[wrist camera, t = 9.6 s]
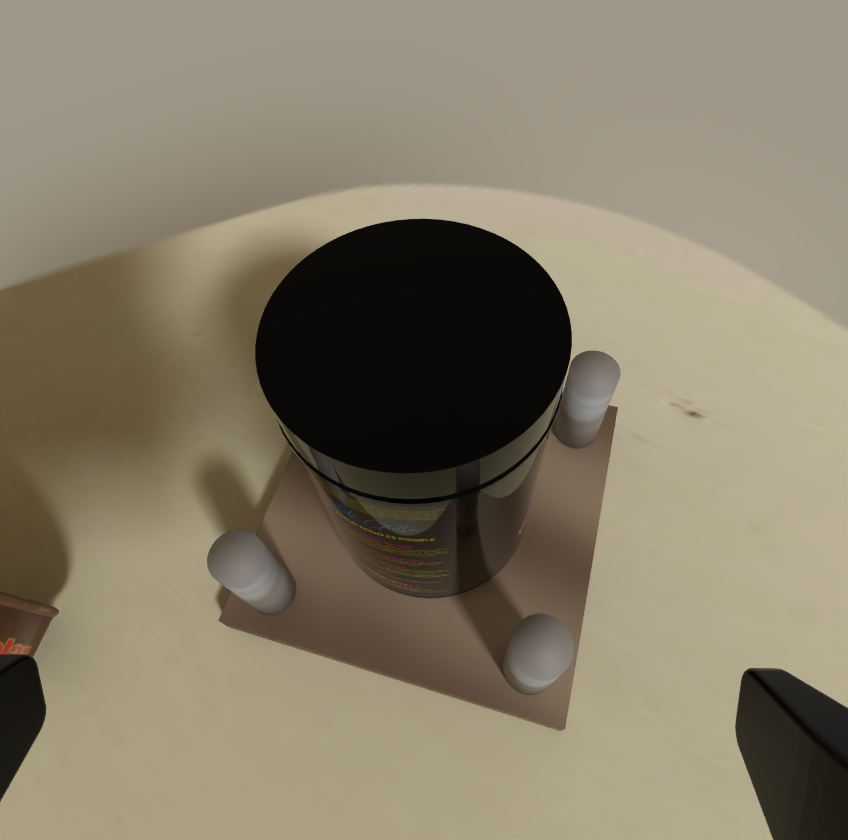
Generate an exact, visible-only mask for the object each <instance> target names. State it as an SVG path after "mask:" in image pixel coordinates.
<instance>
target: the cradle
mask: <svg viewBox="0 0 848 840" xmlns="http://www.w3.org/2000/svg"><path fill="white" fill-rule="evenodd" d="M619 378H620V368H619V365H618V364H617V362H616V361H615V360H614V359H613V358H612V357H611V356H609V355H608V354H606V353H603V352H600V351H586V352H582V353H580V354H578V355H577V356H576V357H575V358H574V359H573V360H572V362H571V365H570V368H569V372H568V376H567V380H566V383H565V387H564V391H563V395H562V397H561V401H560V405H559V409H558V412H557V416H556V418H555V421H554V423H553V426H552V428H551V430H550V432H549V436H548V440H547V444H546V448H545V451H544V455H543V459H542V463H541V467H540V471H539V474H538V478H537V482H536V486H535V490H534V494H533V498H532V501H531V505H530V509H529V513H528V517H527V521H526V525H525V528H524V532H523V535H522V538H521V541H520V543H519V545H518V547H517V549H516V551H515V553H514V554H513V556H512V557H511V559H510V560H509V561H508V563H507V564H506V565H505V566H504V567H503V568H502V569H501V570H500V571H499V572H498V573H497V574H496V575H495V576H494V577H492V578H491V579H490V580H488V581H487V582H485V583H484V584H482V585H480V586H479V587H477V588H475V589H473V590H470V591H468V592H465V593H462V594H459V595H455V596H451V597H445V598H433V599H427V598H416V597H411V596H406V595H403V594H399V593H396V592H394V591H392V590H389V589H387V588H385V587H383V586H382V585H380V584H378V583H377V582H375V581H374V580H373V579H371V578H370V577H369V576H368V575H366V574H365V573H364V572H363V571H362V570H361V569H360V568H359V566H358V565H357V564H356V563H355V562H354V560H353V559H352V557H351V556H350V554H349V552H348V551H347V549H346V547H345V545H344V543H343V541H342V539H341V537H340V535H339V534H338V532H337V530H336V528H335V526H334V524H333V522H332V520H331V518H330V516H329V514H328V513H327V511H326V509H325V507H324V505H323V503H322V501H321V499H320V497H319V495H318V493H317V491H316V490H315V488H314V486H313V484H312V482H311V480H310V478H309V476H308V474H307V472H306V470H305V468H304V467H303V465H302V463H301V461H300V459H299V458H298V456H297V455H296V454H295V452H294V451H293V452H292V455H291V457H290V459H289V461H288V464H287V466H286V468H285V471H284V473H283V475H282V477H281V480H280V482H279V484H278V486H277V489H276V491H275V493H274V496H273V498H272V500H271V502H270V505H269V507H268V509H267V511H266V514H265V516H264V518H263V521H262V523H261V525H260V527H259V530H258V532H257V534H256V535H255V534H254V533H252V532H250V531H248V530H243V529H236V530H232V531H229V532H227V533H225V534H223V535H222V536H220V537H219V538H218V539H217V540H216V541H215V542H214V543H213V545H212V547H211V548H210V551H209V554H208V559H207V564H208V569H209V572H210V574H211V575H212V576H213V577H214V578H215V579H216V580H217V581H218V582H220V583H221V584H222V585H224V586H225V587H226V588H228V589H229V590H230V591H231V593H230V595H229V598H228V600H227V602H226V605H225V607H224V609H223V611H222V614H221V616H220V618H219V620H218V621H220V622H221V623H223V624H225V625H226V626H228V627H231V628H234V629H237V630H241V631H244V632H247V633H250V634H253V635H257V636H260V637H263V638H266V639H269V640H272V641H276V642H279V643H282V644H285V645H288V646H292V647H295V648H298V649H301V650H304V651H308V652H311V653H314V654H317V655H320V656H323V657H327V658H330V659H333V660H336V661H339V662H343V663H346V664H349V665H352V666H355V667H358V668H362V669H365V670H368V671H371V672H374V673H378V674H381V675H384V676H387V677H390V678H394V679H397V680H400V681H403V682H406V683H409V684H413V685H416V686H419V687H422V688H425V689H429V690H432V691H435V692H438V693H441V694H444V695H448V696H451V697H454V698H457V699H460V700H464V701H467V702H470V703H473V704H476V705H480V706H483V707H486V708H489V709H492V710H495V711H499V712H502V713H505V714H508V715H511V716H515V717H518V718H521V719H524V720H527V721H530V722H534V723H537V724H540V725H543V726H546V727H550V728H553V729H556V730H559V731H561V730H564V729H565V725H566V719H567V713H568V707H569V701H570V695H571V689H572V683H573V677H574V671H575V664H576V658H577V652H578V646H579V640H580V634H581V628H582V622H583V616H584V610H585V603H586V597H587V591H588V585H589V579H590V573H591V567H592V561H593V555H594V549H595V543H596V536H597V530H598V524H599V518H600V512H601V506H602V500H603V494H604V488H605V482H606V475H607V469H608V463H609V457H610V451H611V445H612V439H613V433H614V427H615V421H616V414H617V408H618V407H614V406H609V403H610V401H611V398H612V396H613V393H614V391H615V388H616V386H617V383H618V381H619Z"/></svg>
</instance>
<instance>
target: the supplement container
mask: <svg viewBox="0 0 848 840" xmlns="http://www.w3.org/2000/svg"><path fill="white" fill-rule="evenodd" d="M571 347H572V332H571V325H570V319H569V315H568V311H567V307H566V305H565V302H564V300H563V297H562V295H561V293H560V291H559V290H558V288H557V286H556V284H555V283H554V281H553V280H552V279H551V277H550V276H549V274H548V273H547V272H546V271H545V270H544V269H543V267H542V266H541V265H540V264H539V263H538V262H537V261H536V260H535V259H533V258H532V257H531V256H530V255H529V254H528V253H526V252H525V251H524V250H522V249H521V248H519V247H518V246H516V245H515V244H513V243H511V242H510V241H508V240H506V239H504V238H502V237H500V236H498V235H496V234H494V233H492V232H489V231H486V230H484V229H481V228H478V227H475V226H471V225H468V224H463V223H458V222H453V221H446V220H436V219H407V220H396V221H390V222H384V223H379V224H375V225H371V226H367V227H364V228H361V229H358V230H355V231H352V232H350V233H347V234H345V235H342V236H340V237H338V238H336V239H334V240H332V241H330V242H328V243H327V244H325V245H323V246H322V247H320V248H318V249H317V250H315V251H314V252H313V253H311V254H310V255H308V256H307V257H306V258H304V259H303V260H302V261H301V262H300V263H299V264H297V265H296V266H295V267H294V268H293V269H292V270H291V271H290V272H289V273H288V274H287V275H286V277H285V278H284V279H283V280H282V282H281V283H280V284H279V285H278V287H277V288H276V290H275V291H274V293H273V294H272V296H271V298H270V300H269V301H268V303H267V305H266V307H265V309H264V312H263V315H262V317H261V320H260V324H259V328H258V332H257V338H256V346H255V360H256V367H257V374H258V377H259V381H260V385H261V387H262V390H263V392H264V395H265V397H266V399H267V401H268V403H269V405H270V407H271V409H272V411H273V412H274V414H275V416H276V418H277V421H278V423H279V425H280V428H281V430H282V433H283V434H284V436H285V438H286V440H287V442H288V443H289V445H290V447H291V448H292V450H293V451H294V452H295V454H296V455H297V456H298V458H299V459H300V461H301V463H302V465H303V467H304V468H305V470H306V472H307V474H308V476H309V478H310V480H311V482H312V484H313V486H314V488H315V490H316V491H317V493H318V495H319V497H320V499H321V501H322V503H323V505H324V507H325V509H326V511H327V513H328V514H329V516H330V518H331V520H332V522H333V524H334V526H335V528H336V530H337V532H338V534H339V535H340V537H341V539H342V541H343V543H344V545H345V547H346V549H347V551H348V552H349V554H350V556H351V557H352V559H353V560H354V562H355V563H356V564H357V565H358V566H359V568H360V569H361V570H362V571H363V572H364V573H365V574H366V575H368V576H369V577H370V578H371V579H373V580H374V581H375V582H377V583H378V584H380V585H382V586H383V587H385V588H387V589H389V590H392V591H394V592H396V593H399V594H403V595H406V596H411V597H416V598H427V599H433V598H445V597H451V596H455V595H459V594H462V593H465V592H468V591H470V590H473V589H475V588H477V587H479V586H480V585H482V584H484V583H485V582H487V581H488V580H490V579H491V578H492V577H494V576H495V575H496V574H497V573H498V572H499V571H500V570H501V569H502V568H503V567H504V566H505V565H506V564H507V563H508V561H509V560H510V559H511V557H512V556H513V554H514V553H515V551H516V549H517V547H518V545H519V543H520V541H521V538H522V535H523V532H524V528H525V525H526V521H527V517H528V513H529V509H530V505H531V501H532V498H533V494H534V490H535V486H536V482H537V478H538V474H539V471H540V467H541V463H542V459H543V455H544V451H545V448H546V444H547V440H548V436H549V432H550V430H551V428H552V426H553V423H554V421H555V418H556V416H557V412H558V409H559V405H560V401H561V397H562V390H563V384H564V380H565V376H566V373H567V369H568V365H569V361H570V355H571Z"/></svg>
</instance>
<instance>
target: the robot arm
mask: <svg viewBox="0 0 848 840" xmlns="http://www.w3.org/2000/svg"><path fill="white" fill-rule="evenodd" d="M45 715H46V704H45V699H44V695H43V690H42V685H41V681H40V676H39V671H38V667H37V663H36V661H35V660H34V658H33V657H32V656H29V655H27V654H0V801H1V799H2V798H3V796H4V794H5V792H6V790H7V789H8V787H9V785H10V783H11V782H12V780H13V778H14V776H15V775H16V773H17V771H18V769H19V767H20V766H21V764H22V762H23V760H24V759H25V757H26V755H27V753H28V752H29V750H30V748H31V746H32V744H33V743H34V741H35V739H36V737H37V736H38V734H39V732H40V730H41V728H42V726H43V723H44V720H45ZM735 728H736V738H737V742H738V746H739V749H740V752H741V754H742V757H743V760H744V762H745V765H746V768H747V770H748V773H749V776H750V779H751V781H752V784H753V787H754V789H755V792H756V795H757V797H758V800H759V803H760V806H761V808H762V811H763V814H764V816H765V819H766V822H767V824H768V827H769V830H770V833H771V835H772V838H773V840H848V708H847V707H845V706H843V705H842V704H840V703H838V702H837V701H835V700H833V699H832V698H830V697H828V696H827V695H825V694H823V693H822V692H820V691H818V690H817V689H815V688H813V687H811V686H810V685H808V684H806V683H805V682H803V681H801V680H800V679H798V678H796V677H795V676H793V675H791V674H790V673H788V672H786V671H784V670H782V669H776V668H749V669H748V670H746V671H745V672H744V674H743V676H742V679H741V686H740V694H739V701H738V709H737V716H736V725H735Z"/></svg>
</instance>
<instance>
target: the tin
mask: <svg viewBox="0 0 848 840" xmlns="http://www.w3.org/2000/svg"><path fill="white" fill-rule="evenodd" d="M58 613H59V610H58V609H56V608H55V607H53V606H50V605H47V604H43V603H39V602H35V601H31V600H26V599H22V598H20V597H16V596H13V595H9V594H6V593H2V592H0V654H27V655H29V656H32V657H33V656H34V654H35V652H36V650H37V648H38V646H39V644H40V642H41V640H42V638H43V636H44V634H45V632H46V630H47V627H48V625H49V623H50V621H51V620H52V618H53V617H55V616H56V615H57V614H58Z"/></svg>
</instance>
